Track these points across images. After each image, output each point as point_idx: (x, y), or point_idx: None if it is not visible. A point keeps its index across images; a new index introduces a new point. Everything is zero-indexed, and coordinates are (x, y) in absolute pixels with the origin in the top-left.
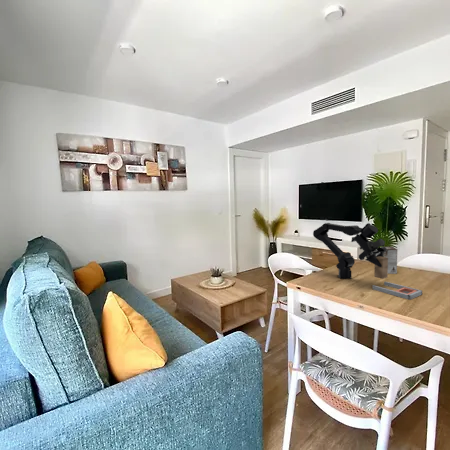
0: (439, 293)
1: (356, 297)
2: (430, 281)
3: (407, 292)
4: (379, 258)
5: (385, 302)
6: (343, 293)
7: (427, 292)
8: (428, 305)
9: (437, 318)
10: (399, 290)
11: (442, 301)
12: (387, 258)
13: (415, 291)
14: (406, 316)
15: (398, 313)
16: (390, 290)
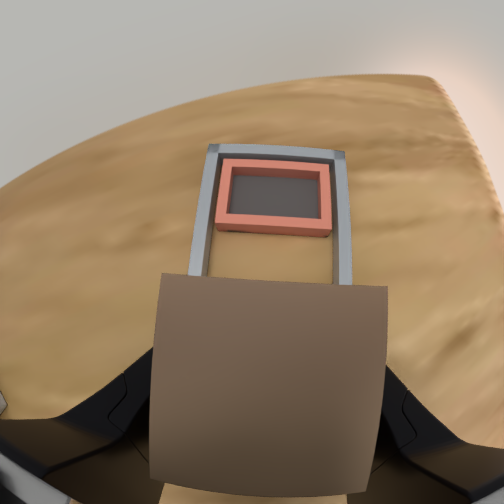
0: (147, 128)
1: (493, 333)
2: (14, 216)
3: (250, 200)
4: (382, 380)
5: (451, 222)
6: (490, 400)
7: (164, 155)
8: (334, 108)
9: (407, 85)
10: (296, 217)
11: (245, 94)
12: (186, 277)
13: (245, 159)
14: (470, 139)
15: (476, 159)
16: (350, 246)
